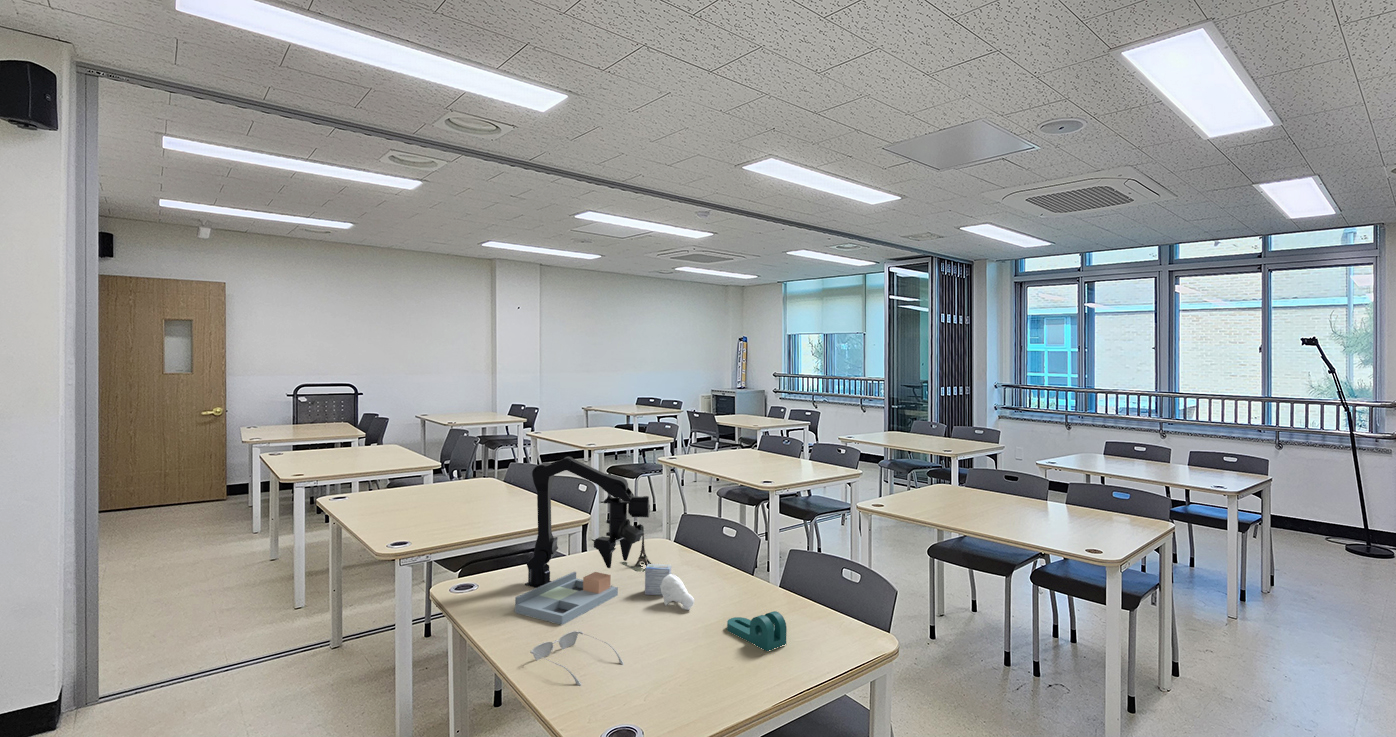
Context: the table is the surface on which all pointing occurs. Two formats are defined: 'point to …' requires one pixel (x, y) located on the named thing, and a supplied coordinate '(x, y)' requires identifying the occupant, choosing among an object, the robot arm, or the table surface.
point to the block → (596, 582)
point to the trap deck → (561, 600)
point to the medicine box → (655, 578)
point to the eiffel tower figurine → (639, 559)
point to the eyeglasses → (564, 642)
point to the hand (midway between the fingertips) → (617, 564)
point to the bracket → (760, 630)
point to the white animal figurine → (676, 591)
